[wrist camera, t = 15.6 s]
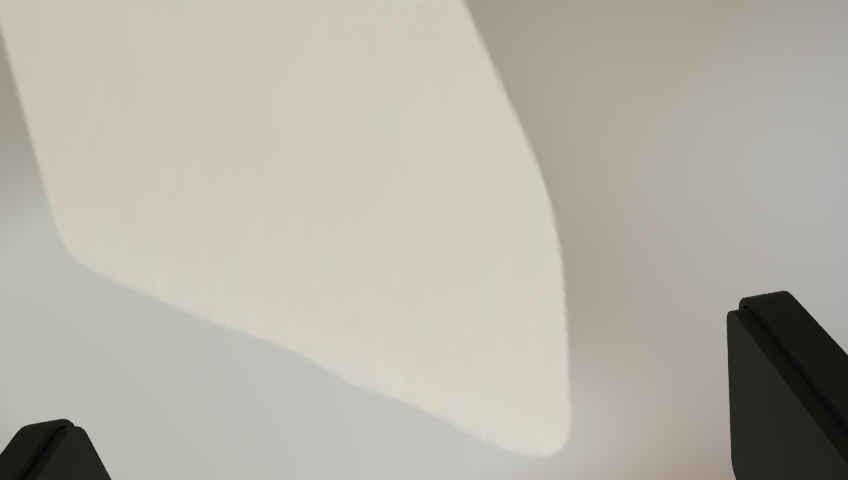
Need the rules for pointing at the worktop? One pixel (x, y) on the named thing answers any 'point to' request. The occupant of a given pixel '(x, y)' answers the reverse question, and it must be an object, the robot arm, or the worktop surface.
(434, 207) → the worktop surface
